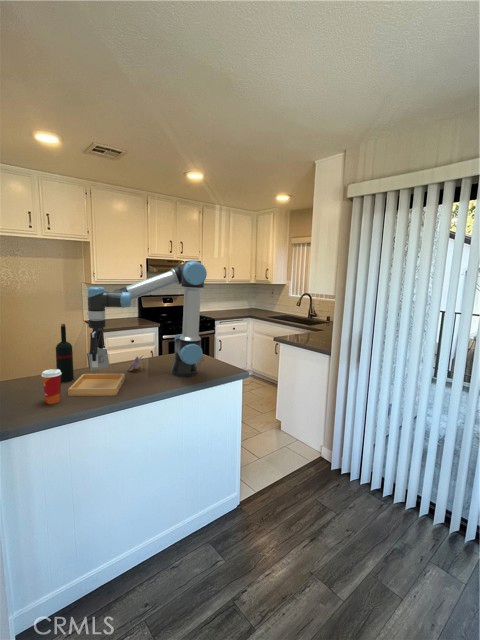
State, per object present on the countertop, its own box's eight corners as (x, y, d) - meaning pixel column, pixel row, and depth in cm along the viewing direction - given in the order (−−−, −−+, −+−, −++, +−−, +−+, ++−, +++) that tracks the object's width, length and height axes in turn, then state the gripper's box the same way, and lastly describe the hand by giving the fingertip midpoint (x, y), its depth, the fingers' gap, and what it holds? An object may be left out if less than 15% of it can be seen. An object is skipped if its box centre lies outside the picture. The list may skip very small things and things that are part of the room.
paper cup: (48, 397, 145) (46, 368, 143) (66, 398, 146) (64, 368, 144) (39, 405, 138) (37, 374, 135) (57, 405, 138) (56, 374, 136)
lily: (144, 368, 195) (137, 354, 194) (153, 365, 187) (145, 351, 186) (128, 378, 187) (120, 364, 185) (137, 376, 178) (128, 361, 177)
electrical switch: (91, 371, 152) (90, 352, 151) (86, 369, 156) (85, 351, 155) (109, 367, 160) (108, 349, 159) (104, 365, 163) (103, 348, 162)
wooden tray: (124, 379, 172) (124, 373, 171) (115, 395, 151) (115, 388, 150) (83, 380, 168) (83, 373, 168) (68, 396, 148) (68, 389, 147)
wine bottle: (70, 375, 174) (68, 321, 170) (75, 380, 167) (73, 324, 162) (54, 377, 169) (51, 322, 164) (58, 383, 162) (56, 325, 157)
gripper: (95, 315, 164) (96, 357, 168) (81, 323, 143) (82, 371, 146) (110, 315, 165) (111, 357, 169) (98, 323, 144) (99, 371, 147)
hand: (97, 363), depth 158 cm, fingers closed on electrical switch, 9 cm apart
